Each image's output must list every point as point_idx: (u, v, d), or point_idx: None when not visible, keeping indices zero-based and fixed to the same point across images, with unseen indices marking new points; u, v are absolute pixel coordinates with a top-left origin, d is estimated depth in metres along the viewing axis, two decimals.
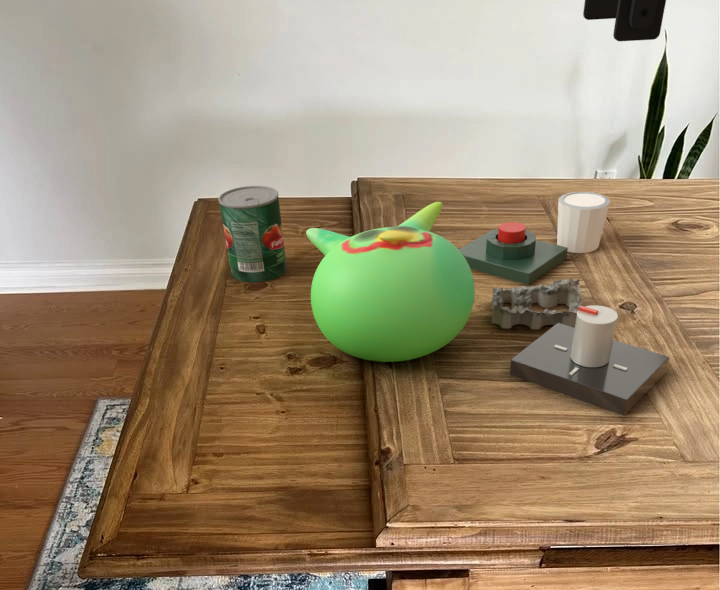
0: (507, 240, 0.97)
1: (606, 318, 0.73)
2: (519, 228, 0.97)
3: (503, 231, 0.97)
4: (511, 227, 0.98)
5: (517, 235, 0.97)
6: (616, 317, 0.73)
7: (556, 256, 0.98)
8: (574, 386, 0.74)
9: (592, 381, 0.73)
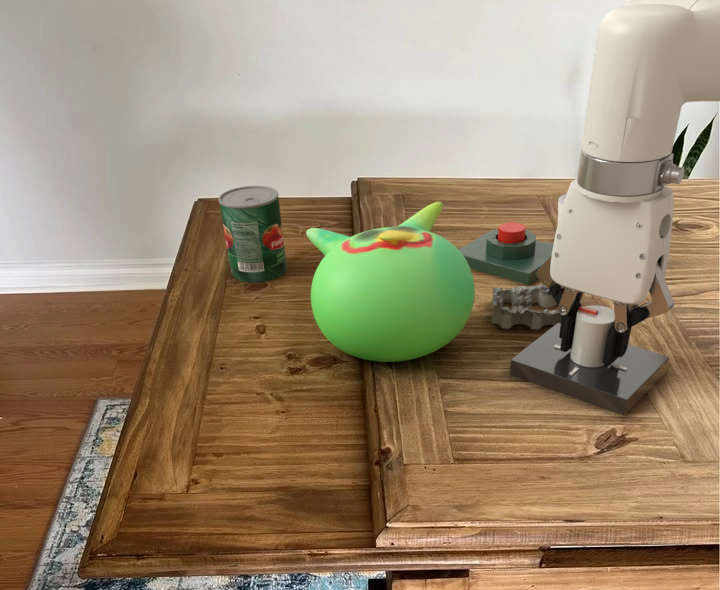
0: (507, 240, 0.97)
1: (606, 318, 0.73)
2: (519, 228, 0.97)
3: (503, 231, 0.97)
4: (511, 227, 0.98)
5: (517, 235, 0.97)
6: None
7: None
8: (574, 386, 0.74)
9: (592, 381, 0.73)
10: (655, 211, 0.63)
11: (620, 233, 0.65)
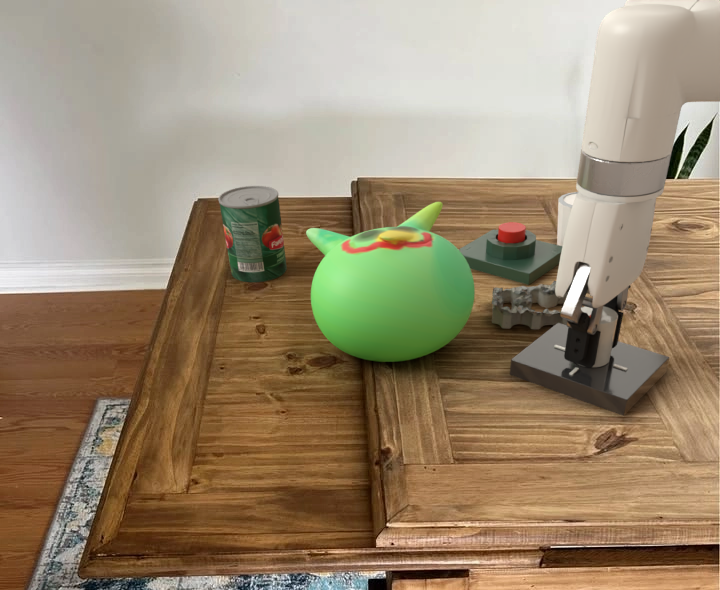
0: (507, 240, 0.97)
1: (605, 310, 0.74)
2: (519, 228, 0.97)
3: (503, 231, 0.97)
4: (511, 227, 0.98)
5: (517, 235, 0.97)
6: None
7: (556, 256, 0.98)
8: (574, 386, 0.74)
9: (592, 381, 0.73)
10: None
11: (647, 220, 0.67)
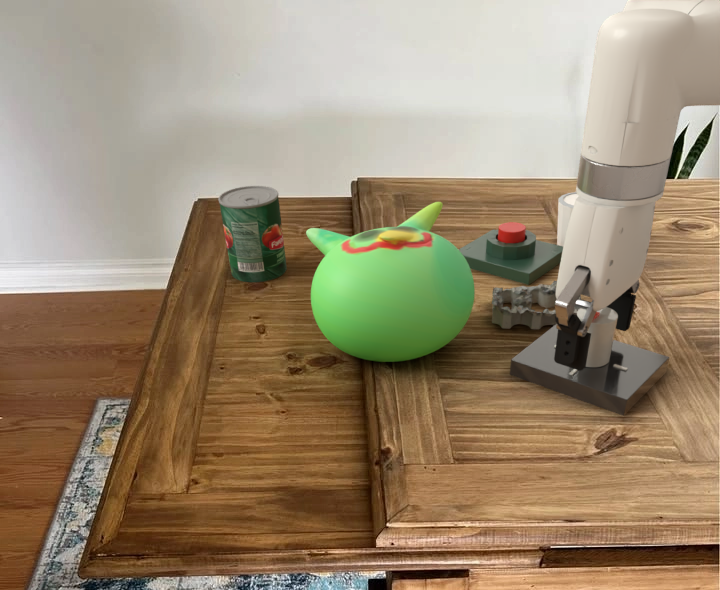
0: (507, 240, 0.97)
1: (605, 310, 0.74)
2: (519, 228, 0.97)
3: (503, 231, 0.97)
4: (511, 227, 0.98)
5: (517, 235, 0.97)
6: None
7: (556, 256, 0.98)
8: (574, 386, 0.74)
9: (592, 381, 0.73)
10: None
11: (646, 223, 0.67)
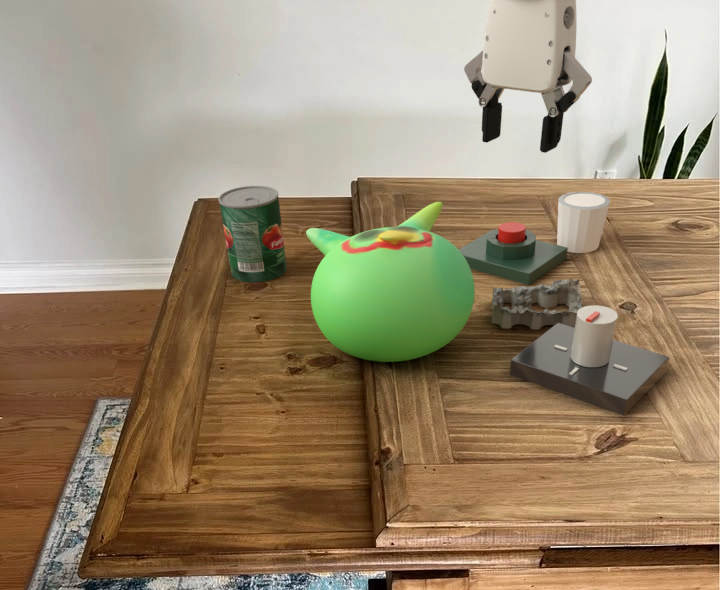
0: (507, 240, 0.97)
1: (605, 310, 0.74)
2: (519, 228, 0.97)
3: (503, 231, 0.97)
4: (511, 227, 0.98)
5: (517, 235, 0.97)
6: (601, 306, 0.75)
7: (556, 256, 0.98)
8: (574, 386, 0.74)
9: (592, 381, 0.73)
10: (558, 1, 0.78)
11: (533, 24, 0.80)
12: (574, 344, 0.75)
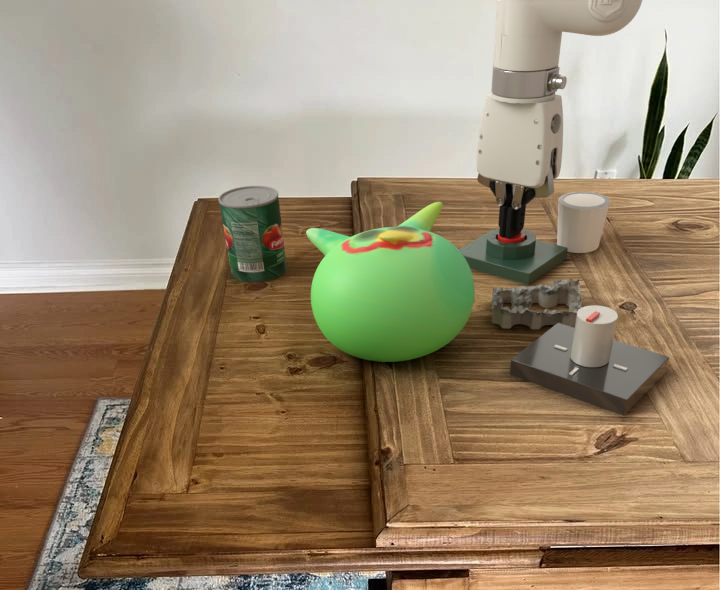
0: None
1: (605, 310, 0.74)
2: (518, 235, 0.98)
3: (503, 238, 0.97)
4: None
5: (516, 242, 0.97)
6: (601, 306, 0.75)
7: (556, 256, 0.98)
8: (574, 386, 0.74)
9: (592, 381, 0.73)
10: (546, 110, 0.85)
11: (523, 129, 0.87)
12: (574, 344, 0.75)
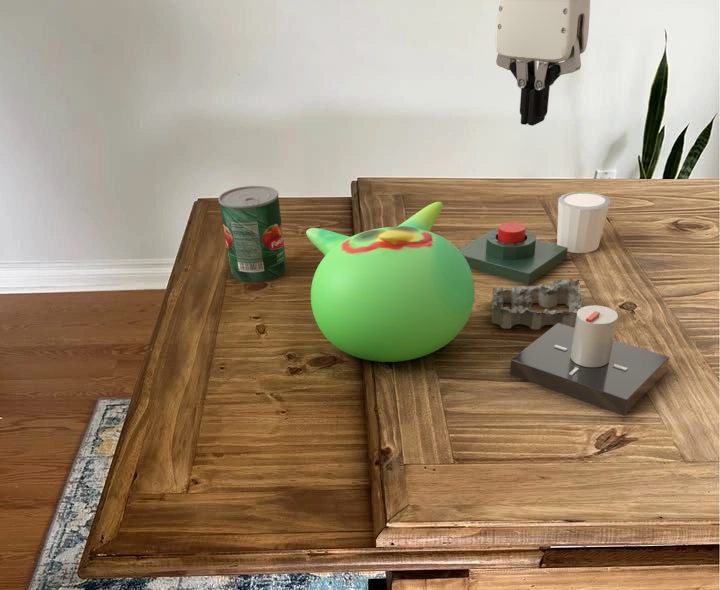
0: (507, 240, 0.97)
1: (605, 310, 0.74)
2: (519, 228, 0.97)
3: (503, 231, 0.97)
4: (511, 227, 0.98)
5: (517, 235, 0.97)
6: (601, 306, 0.75)
7: (556, 256, 0.98)
8: (574, 386, 0.74)
9: (592, 381, 0.73)
10: None
11: None
12: (574, 344, 0.75)
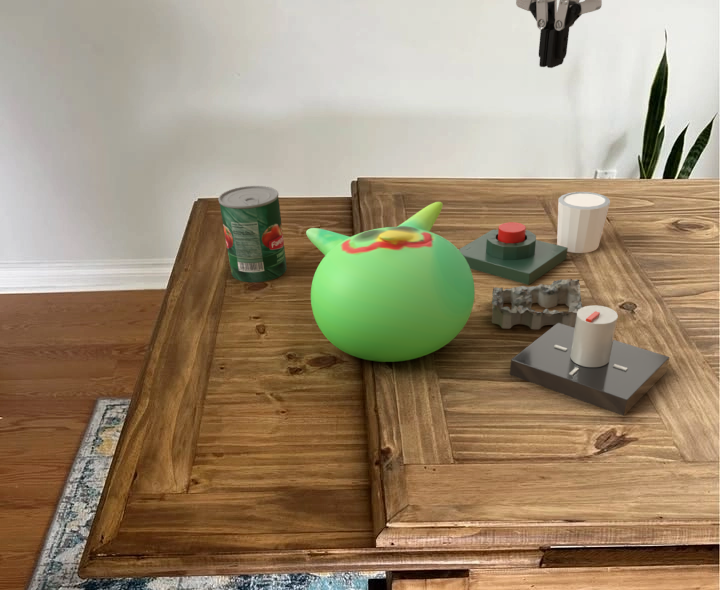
0: (507, 240, 0.97)
1: (605, 310, 0.74)
2: (519, 228, 0.97)
3: (503, 231, 0.97)
4: (511, 227, 0.98)
5: (517, 235, 0.97)
6: (601, 306, 0.75)
7: (556, 256, 0.98)
8: (574, 386, 0.74)
9: (592, 381, 0.73)
10: None
11: None
12: (574, 344, 0.75)
